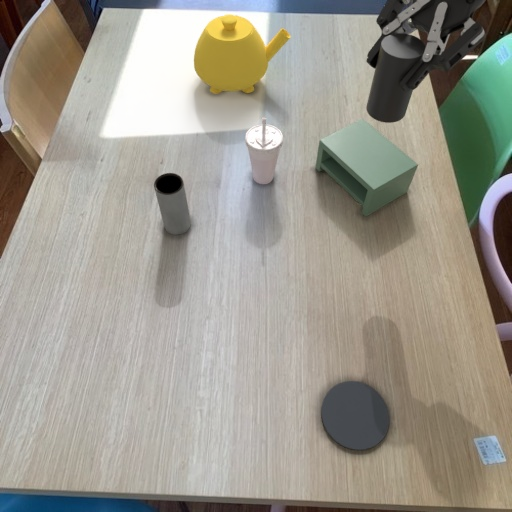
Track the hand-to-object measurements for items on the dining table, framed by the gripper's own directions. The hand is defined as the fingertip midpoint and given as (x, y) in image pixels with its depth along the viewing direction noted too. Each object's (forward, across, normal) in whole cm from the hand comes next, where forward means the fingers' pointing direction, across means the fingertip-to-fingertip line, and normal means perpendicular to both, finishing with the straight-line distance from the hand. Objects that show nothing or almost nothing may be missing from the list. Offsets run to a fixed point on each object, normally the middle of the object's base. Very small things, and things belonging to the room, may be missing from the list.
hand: (386, 76), depth 63 cm
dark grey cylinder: (+3, 0, -6) cm, 7 cm away
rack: (+15, +4, -21) cm, 26 cm away
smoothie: (+25, +14, -12) cm, 31 cm away
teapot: (+16, +40, -20) cm, 48 cm away
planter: (+38, +13, +2) cm, 40 cm away
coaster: (+35, -28, -1) cm, 45 cm away
